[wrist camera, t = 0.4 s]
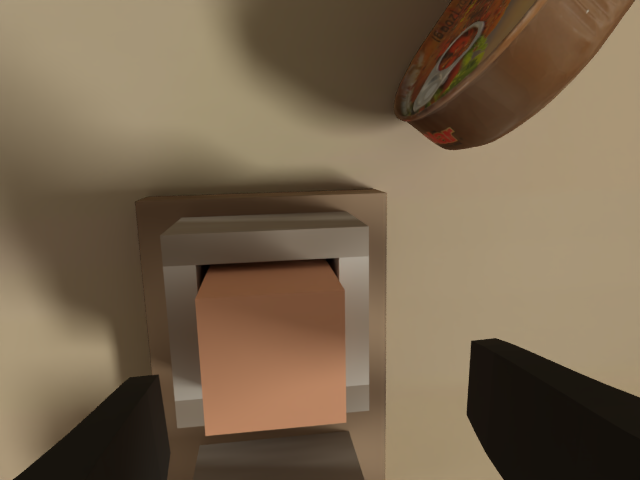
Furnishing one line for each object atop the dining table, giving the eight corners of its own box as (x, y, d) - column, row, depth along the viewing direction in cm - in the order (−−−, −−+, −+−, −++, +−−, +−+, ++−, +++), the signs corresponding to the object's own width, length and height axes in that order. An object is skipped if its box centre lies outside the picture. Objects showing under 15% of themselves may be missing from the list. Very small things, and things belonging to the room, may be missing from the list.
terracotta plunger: (326, 361, 17) (346, 422, 13) (218, 370, 17) (205, 435, 13) (324, 257, 16) (344, 290, 13) (211, 263, 16) (195, 298, 12)
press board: (374, 530, 24) (411, 649, 18) (180, 554, 23) (153, 690, 17) (375, 189, 21) (419, 203, 15) (147, 196, 20) (99, 215, 14)
